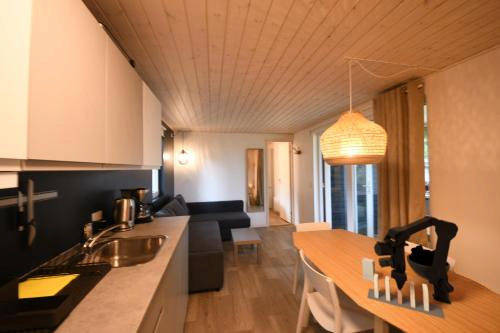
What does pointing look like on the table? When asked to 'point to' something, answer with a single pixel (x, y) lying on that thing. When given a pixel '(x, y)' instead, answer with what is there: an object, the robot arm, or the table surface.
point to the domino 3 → (399, 296)
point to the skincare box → (368, 269)
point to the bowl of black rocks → (422, 260)
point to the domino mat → (407, 303)
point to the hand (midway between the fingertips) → (399, 286)
